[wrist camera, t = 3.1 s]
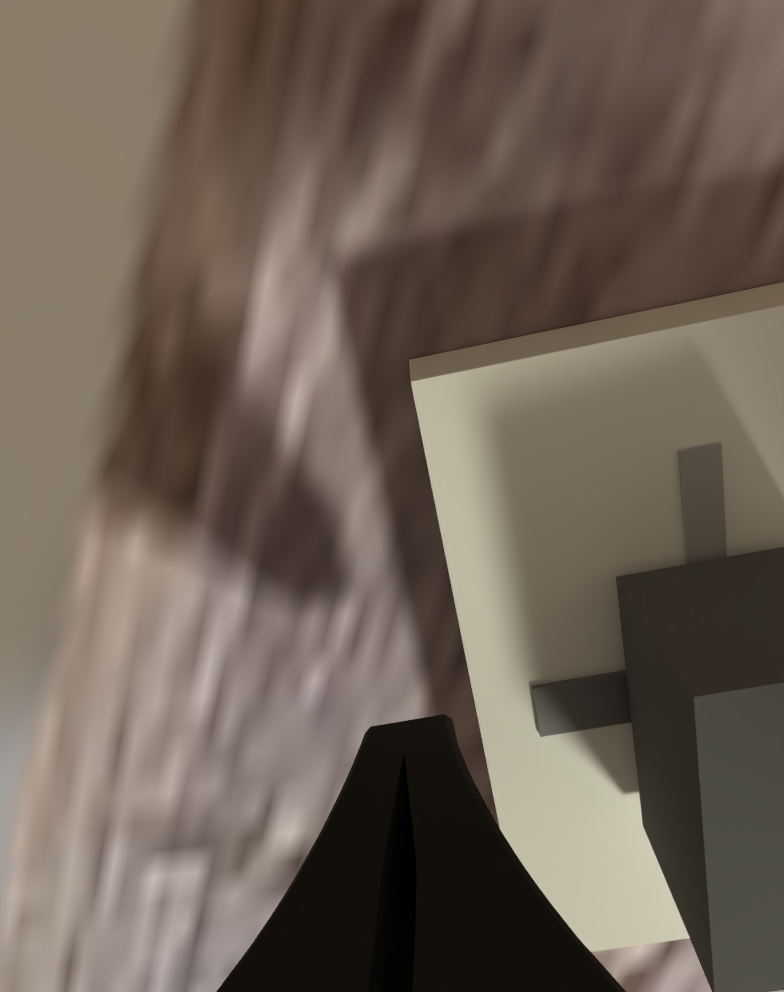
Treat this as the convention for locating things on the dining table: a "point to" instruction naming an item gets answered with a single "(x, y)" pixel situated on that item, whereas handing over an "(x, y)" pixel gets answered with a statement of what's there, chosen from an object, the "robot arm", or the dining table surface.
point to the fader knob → (714, 752)
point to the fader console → (593, 558)
